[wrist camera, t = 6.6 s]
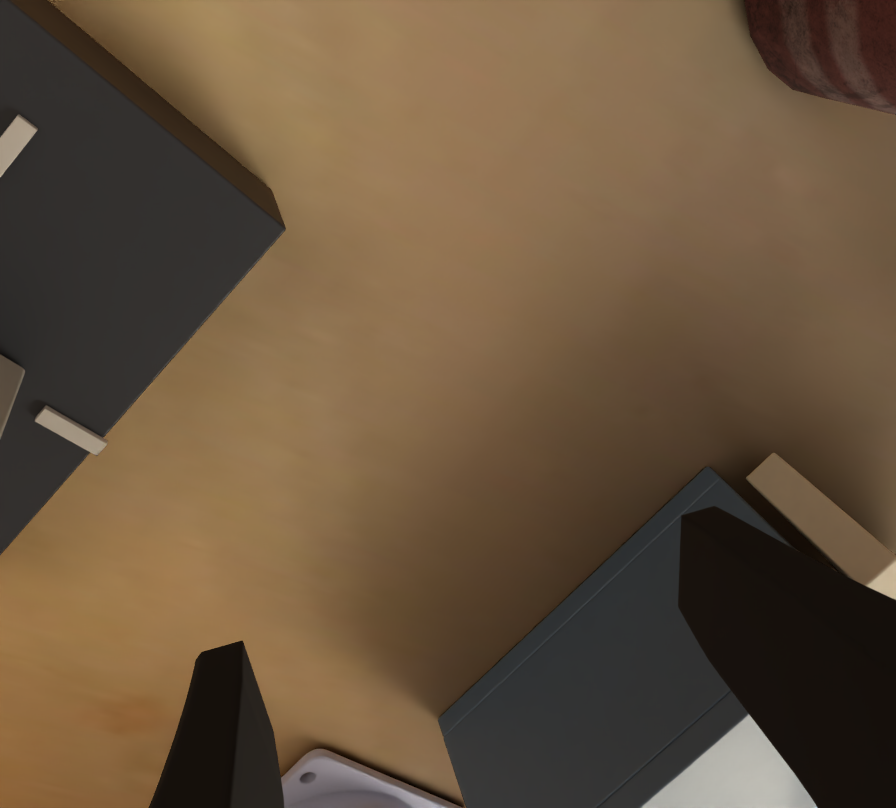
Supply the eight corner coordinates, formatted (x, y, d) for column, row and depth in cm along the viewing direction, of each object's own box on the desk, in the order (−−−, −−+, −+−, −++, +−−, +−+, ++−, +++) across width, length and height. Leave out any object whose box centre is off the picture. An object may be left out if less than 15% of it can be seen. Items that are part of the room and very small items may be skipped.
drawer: (896, 336, 25) (1054, 422, 20) (1011, 500, 30) (1155, 597, 26) (512, 692, 28) (577, 836, 23) (679, 785, 33) (757, 917, 28)
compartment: (707, 464, 26) (861, 616, 20) (860, 611, 32) (1015, 763, 26) (436, 718, 28) (503, 924, 22) (626, 813, 34) (720, 995, 28)
